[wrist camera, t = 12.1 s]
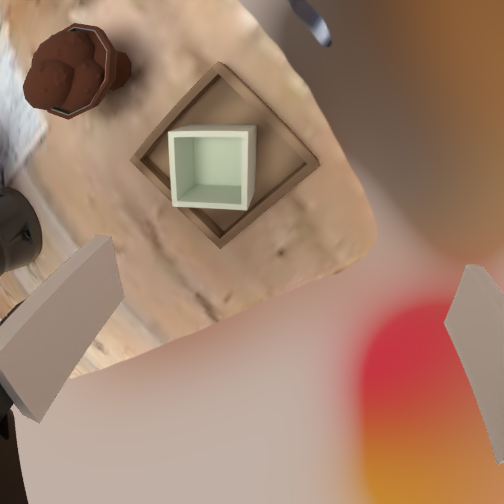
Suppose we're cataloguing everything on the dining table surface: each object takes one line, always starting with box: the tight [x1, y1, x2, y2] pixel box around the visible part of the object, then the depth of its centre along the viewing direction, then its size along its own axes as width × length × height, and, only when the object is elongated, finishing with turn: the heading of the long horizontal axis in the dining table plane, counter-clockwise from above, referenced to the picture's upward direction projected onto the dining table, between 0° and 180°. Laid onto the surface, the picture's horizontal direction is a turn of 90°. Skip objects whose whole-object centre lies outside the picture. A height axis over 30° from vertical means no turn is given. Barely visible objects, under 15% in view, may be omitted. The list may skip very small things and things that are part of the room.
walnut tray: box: [130, 62, 320, 249], centre depth 36 cm, size 16×16×3 cm
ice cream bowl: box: [23, 23, 131, 120], centre depth 27 cm, size 11×11×15 cm
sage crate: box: [168, 124, 257, 210], centre depth 34 cm, size 8×8×7 cm
